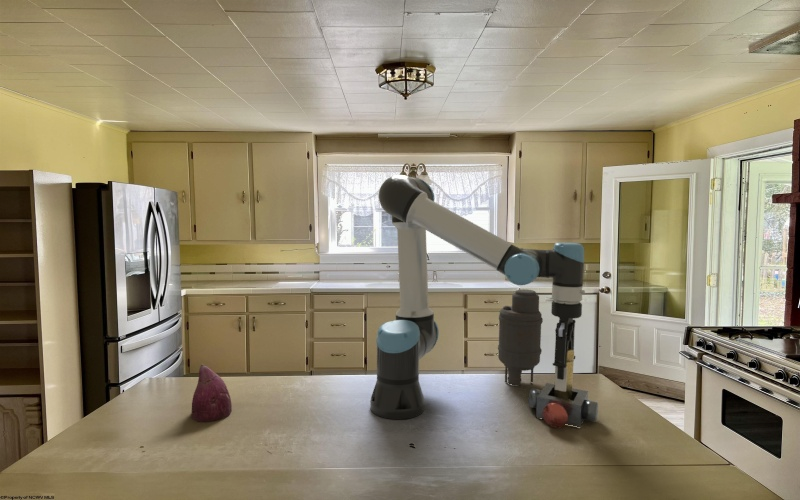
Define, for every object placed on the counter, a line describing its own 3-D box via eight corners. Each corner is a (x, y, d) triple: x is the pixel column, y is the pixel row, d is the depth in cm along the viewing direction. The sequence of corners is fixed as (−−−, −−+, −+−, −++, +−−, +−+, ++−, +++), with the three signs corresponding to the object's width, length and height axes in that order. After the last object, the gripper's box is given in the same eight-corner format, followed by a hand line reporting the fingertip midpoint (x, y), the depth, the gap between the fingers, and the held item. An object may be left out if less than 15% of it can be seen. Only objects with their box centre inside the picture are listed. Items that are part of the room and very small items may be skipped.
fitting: (551, 405, 119) (554, 351, 118) (555, 399, 123) (557, 346, 121) (569, 409, 116) (572, 354, 115) (573, 403, 120) (575, 349, 119)
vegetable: (185, 429, 117) (167, 376, 115) (215, 408, 126) (198, 359, 124) (214, 427, 112) (195, 372, 111) (242, 406, 122) (225, 355, 120)
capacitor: (533, 394, 134) (536, 295, 131) (490, 384, 141) (493, 291, 139) (545, 380, 145) (548, 289, 143) (505, 371, 152) (507, 285, 150)
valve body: (520, 420, 116) (521, 396, 116) (535, 400, 129) (536, 379, 128) (590, 438, 108) (591, 412, 107) (599, 415, 120) (600, 391, 120)
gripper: (575, 309, 107) (571, 401, 109) (587, 297, 123) (584, 378, 125) (543, 305, 111) (540, 395, 113) (559, 294, 127) (556, 372, 129)
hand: (563, 385), depth 119 cm, fingers open, 6 cm apart
